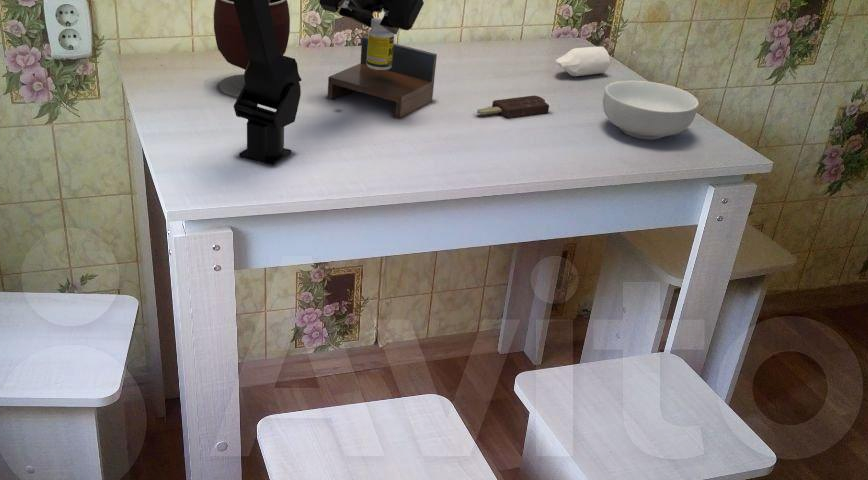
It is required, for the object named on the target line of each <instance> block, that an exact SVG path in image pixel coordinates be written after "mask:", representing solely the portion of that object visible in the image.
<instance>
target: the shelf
mask: <svg viewBox="0 0 868 480" xmlns="http://www.w3.org/2000/svg"><path fill="white" fill-rule="evenodd" d="M367 48H368V36H366V35H364V36H361V46H360V63H357V64H355V65H353V66H350V67H348V68H346V69H343V70H341V71H338V72H336V73H333V74H332V75H330V76H328V80H327V99H332V100H333V99H335V98H337V97H339V96H341V95H343V94H346V93H348V92H351V91H355V92H358V93H362V94H367V95H370V96H373V97H377V98H379V99H384V100H387V101H392V102H395V115H394V117H395V118H397V119H401V118H403V117H405V116H407V115H409V114H411V113H412V112H414V111H416V110H419V109H420V108H422V107H424V106H426V105H428V104H430V103H432V102H433V98H434V97H433V96H434V88H435V87H434V85H435V76H436V67H437V66H436V65H437V57H438V55H437V53H435V52H430V51H427V50H423V49H418V48H414V47H410V46H406V45H402V44H399V43H394V44H393V57H392V67H391V68H390V69H388V70H374V69H371V68H369V67H368V66H367V65H366V62H367Z"/></svg>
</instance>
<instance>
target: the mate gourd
mask: <svg viewBox="0 0 868 480" xmlns="http://www.w3.org/2000/svg"><path fill="white" fill-rule="evenodd" d="M268 3H269V7H270V11H271V16H272V20H273V24H274V28H275V32H276V36H277V41H278V45H279V49H280V52H281V54H282V55H283V56H285V53H286V51H287V48H288V44H289V38H290V32H291V16H290V8H289V3H288V0H268ZM213 32H214V36H215V37H214V38H215V44H216V47H217V50H218V51H219V53H220V54H221V55H222V57H223V58H224V60H225V61H226V63H228V64H229V65H232V66H235V67H237V68H240V69H242V70H244V73H245V71H246V68H247V66H248V63H249V57H248V53H247V50H246V46H245V42H244V39H243V35H242V31H241V27H240V24H239V20H238V16H237V13H236V9H235V5H234V2H233V0H215V1H214V8H213ZM244 73H243V74H242V73H241V74H235V75H231V76H228V77H225V78H223V79H222V80H221V81H220V82H219V90H220V91H221V92H222V93H223V94H225V95H227V96H230V97H233V98H236V99H237V98H238V97H239V95H240V93H241V91H242V89H243V87H244V85H245V80H244Z"/></svg>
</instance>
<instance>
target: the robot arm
mask: <svg viewBox="0 0 868 480" xmlns="http://www.w3.org/2000/svg"><path fill="white" fill-rule="evenodd" d="M233 2H234V5H235V9H236V13H237V16H238V20H239V24H240V27H241V31H242V35H243V39H244V42H245V46H246V50H247V53H248V57H249V63H248V66H247V68H246V71H245V70H244V72H245V73H243V74H244V80H245V85H244V87H243V89H242V91H241V93H240V95H239V97H238V98H237V97H236V100H235V102H234V104H233V110H234V113H235V116H236V117H237V118H242V119H245V120H247V122H246V148H245V149H244V150H242V151H241V152H239V153H238V157H239V158H241V159H246V160H248V161H249V160H250V161H253V162H256V163H261V164H263V165H267V166H274V165H276V164H277V163H279V162H280V161H282V160H283V159H285V158H287V157H288V156H290V155H291V154H293V153H292V152H293V151H292V149H289V148H286V147H284V146H285V127H286V126H287V127H288V126H289V125H291V124H293V123H295V122H296V119H297V114H298V110H299V109H298V108H299V105H300V100H301V95H302V91H301V84H300V82H302V78H301V76H300V74H299V67H298V62H297V60H296V58H294V57H291V56H286V55H282V54H281V52H280V49H279V45H278V41H277V36H276V32H275V28H274V24H273V20H272V16H271V11H270V7H269V3H268V0H233ZM318 3H319V6H320V7H321V9H322V10H323V11H327V12H331V13H334V14H335V13H337V12H338V14H339V16H341V17H345V18H347V19H349V20H351V21H354V22H356V23H359V24H361V25H363V26H365V27H368V28H370V29H372V28H371V20H372V19H373V18H375V17H374V15H373V14H374V12H375V13H379V14H381V13H382V12H383V13H384V14H383V16H382V18H383V19H382V21H381V23H380V25H381V26H382V27H384V28H386V29H387V30H389V31H390V32H392V33H393V34H394V35H398V32H399V30H403V31H410V30H412V28H413V26H414V24H415V23H416V20H417V18H418V17H419V15H420V12H421V10H422V9H423V6H424V4H425V2H424V0H318ZM339 9H340V10H339ZM338 10H339V11H338ZM258 105H260V106H258ZM261 106H262V107H261ZM263 106H264V107H267V108H270V109H267V108H264V107H263ZM271 109H273V110H271Z"/></svg>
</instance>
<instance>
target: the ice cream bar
mask: <svg viewBox="0 0 868 480" xmlns="http://www.w3.org/2000/svg"><path fill="white" fill-rule="evenodd" d="M549 109H550V104H548V103H547V102H546V100H545V98H543V97H541V96H539V95H526V96H518V97H511V98H504V99H502V98H501V99H494V100H493V101H492V103H491V107H483V108H478V109H477V110H476V111H477V112H476V113H477V114H479V115H491V114H498V113H499V114H500V115H502V116H504V117H505V118H506V119H511V118H521V117H526V116H527V117H528V116H534V115H541V114H547V113H549Z"/></svg>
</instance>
